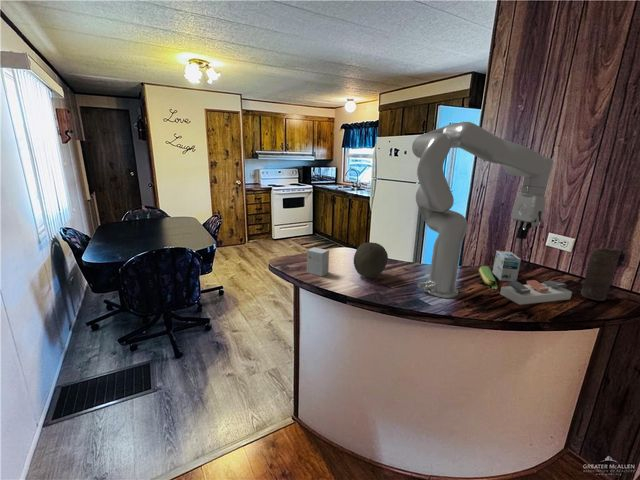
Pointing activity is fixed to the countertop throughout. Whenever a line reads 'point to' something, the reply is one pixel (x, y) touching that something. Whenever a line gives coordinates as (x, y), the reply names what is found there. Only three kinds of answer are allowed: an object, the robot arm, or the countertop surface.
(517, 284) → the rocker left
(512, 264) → the light bulb box
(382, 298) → the countertop surface
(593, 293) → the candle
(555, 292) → the rocker switch panel
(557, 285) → the rocker right
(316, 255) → the small box
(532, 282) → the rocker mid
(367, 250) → the dark brown sphere
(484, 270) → the edible corn
